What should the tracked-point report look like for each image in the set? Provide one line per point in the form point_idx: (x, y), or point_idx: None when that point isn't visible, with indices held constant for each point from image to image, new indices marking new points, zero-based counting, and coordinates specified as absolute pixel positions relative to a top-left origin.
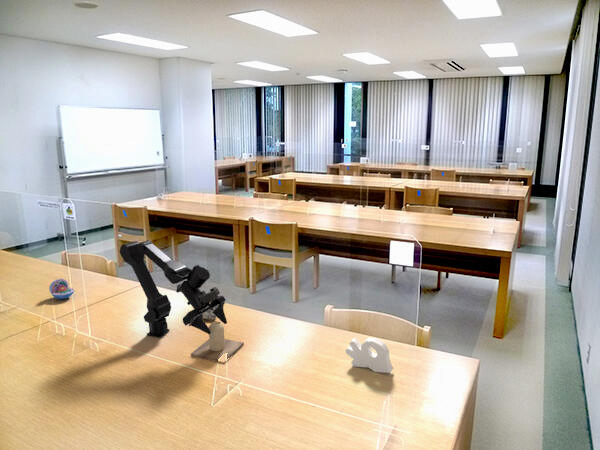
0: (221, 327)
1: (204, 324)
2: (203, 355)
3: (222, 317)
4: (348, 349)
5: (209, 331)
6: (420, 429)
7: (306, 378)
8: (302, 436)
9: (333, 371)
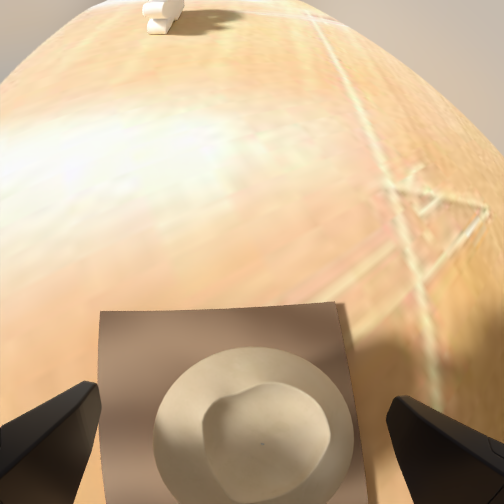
0: (266, 351)
1: (488, 443)
2: (355, 446)
3: (62, 446)
4: (164, 3)
5: (416, 401)
6: (293, 5)
7: (259, 69)
8: (406, 72)
9: (201, 46)
